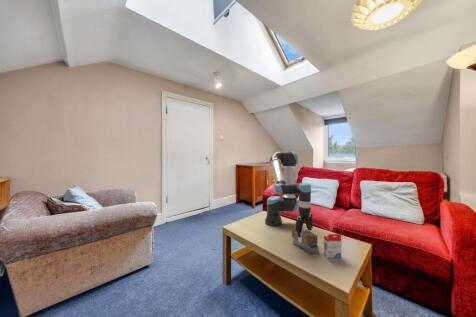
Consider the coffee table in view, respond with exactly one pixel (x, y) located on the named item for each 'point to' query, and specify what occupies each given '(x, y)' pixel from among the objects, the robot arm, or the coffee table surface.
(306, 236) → the wooden block
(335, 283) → the coffee table surface
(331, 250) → the ink box
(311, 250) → the rail
